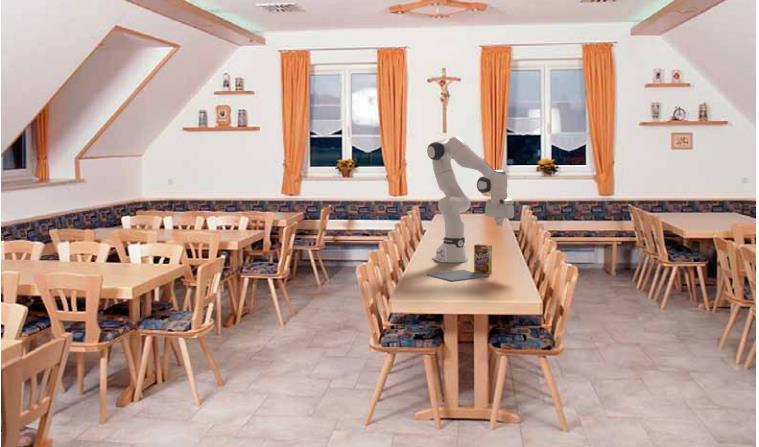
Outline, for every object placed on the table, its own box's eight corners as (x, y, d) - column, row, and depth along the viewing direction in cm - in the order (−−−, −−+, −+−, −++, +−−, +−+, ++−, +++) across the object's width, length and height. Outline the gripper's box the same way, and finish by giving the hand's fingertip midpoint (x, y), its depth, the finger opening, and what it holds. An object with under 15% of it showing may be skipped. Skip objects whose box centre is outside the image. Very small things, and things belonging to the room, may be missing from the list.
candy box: (473, 272, 419) (473, 244, 417) (477, 271, 422) (477, 243, 421) (488, 274, 414) (488, 245, 412) (492, 273, 417) (492, 244, 416)
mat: (426, 275, 413) (426, 274, 412) (462, 270, 425) (462, 269, 425) (451, 281, 394) (451, 280, 394) (488, 276, 406) (488, 275, 406)
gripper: (482, 199, 427) (482, 224, 428) (506, 201, 409) (506, 227, 411) (491, 198, 430) (491, 223, 431) (516, 200, 413) (516, 226, 414)
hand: (499, 225), depth 421 cm, fingers closed
